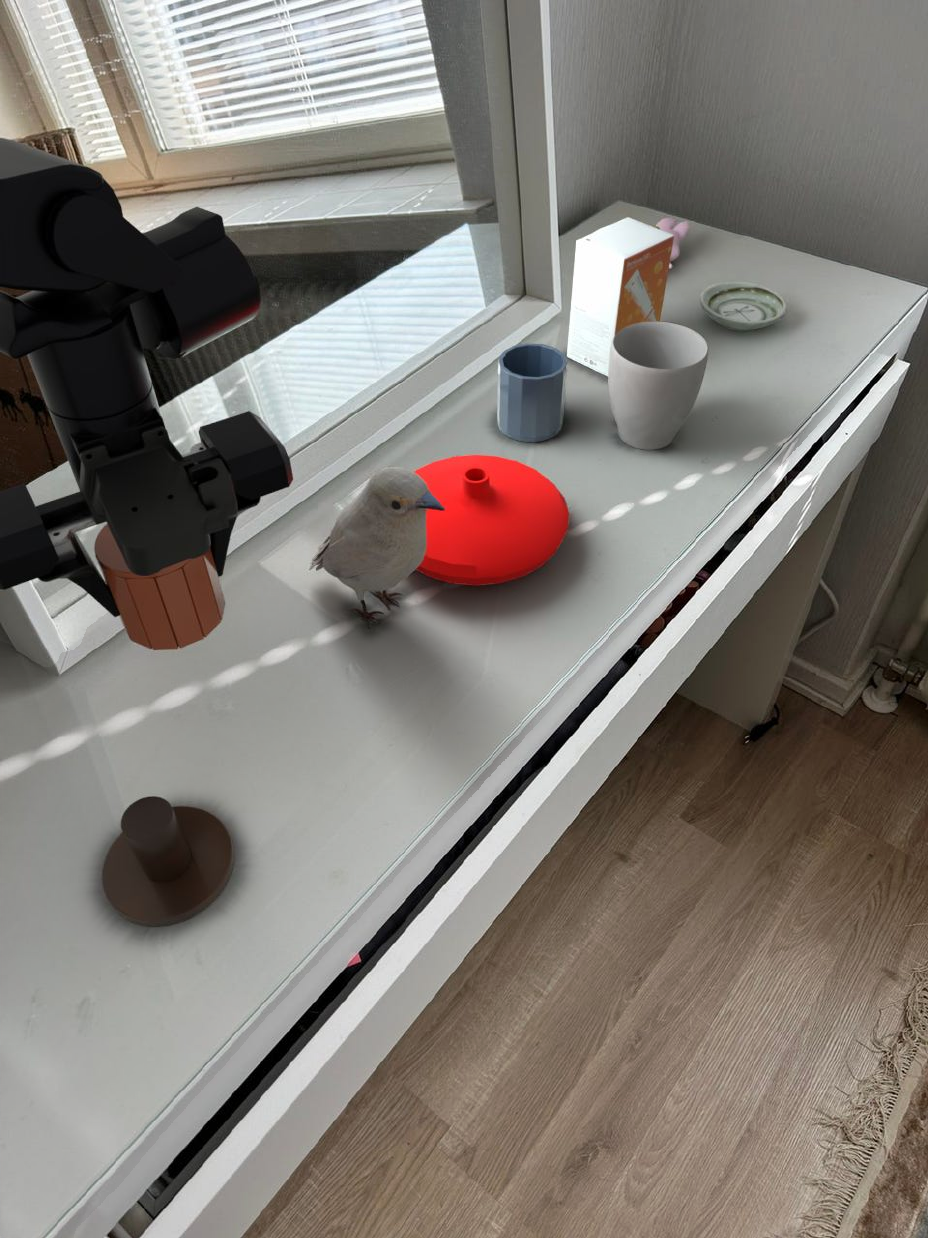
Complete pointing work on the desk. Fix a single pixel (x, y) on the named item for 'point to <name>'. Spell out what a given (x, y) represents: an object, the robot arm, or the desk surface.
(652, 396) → the mug
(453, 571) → the red disc with nozzle
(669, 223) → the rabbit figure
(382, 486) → the bird
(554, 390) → the slate cup
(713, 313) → the saucer
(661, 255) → the small box
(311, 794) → the desk surface
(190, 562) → the orange ribbed cylinder
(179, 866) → the holder
